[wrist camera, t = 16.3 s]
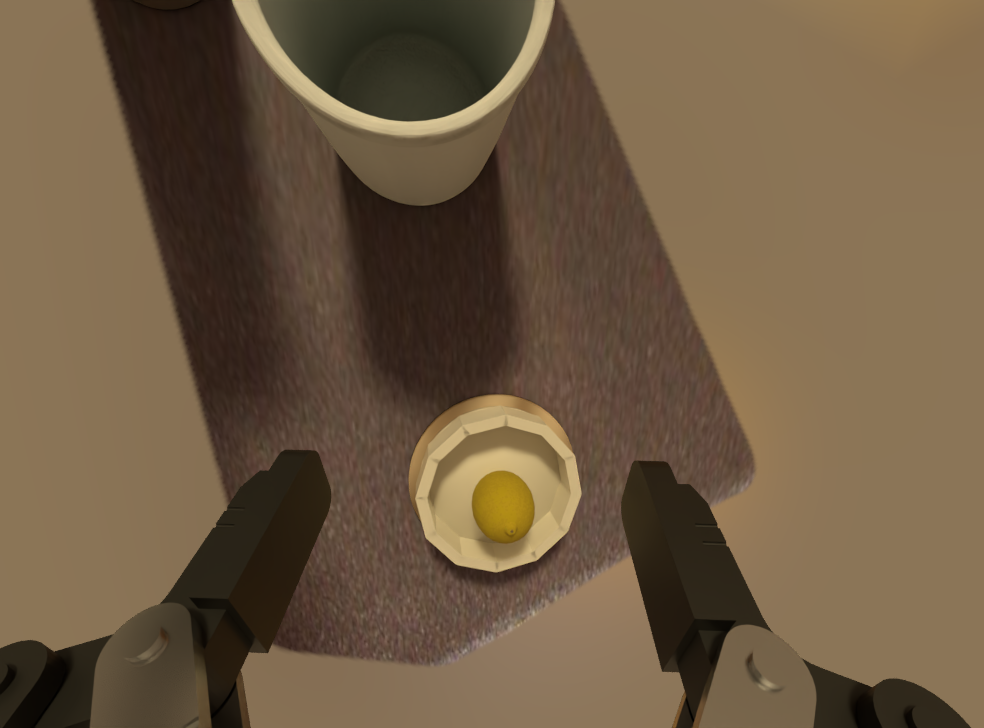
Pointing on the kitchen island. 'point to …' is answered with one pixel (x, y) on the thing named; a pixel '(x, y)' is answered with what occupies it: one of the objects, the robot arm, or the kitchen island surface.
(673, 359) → the kitchen island surface
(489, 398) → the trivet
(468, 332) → the kitchen island surface
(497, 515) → the lemon
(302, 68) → the utensil holder
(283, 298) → the kitchen island surface
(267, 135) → the kitchen island surface
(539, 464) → the bowl
